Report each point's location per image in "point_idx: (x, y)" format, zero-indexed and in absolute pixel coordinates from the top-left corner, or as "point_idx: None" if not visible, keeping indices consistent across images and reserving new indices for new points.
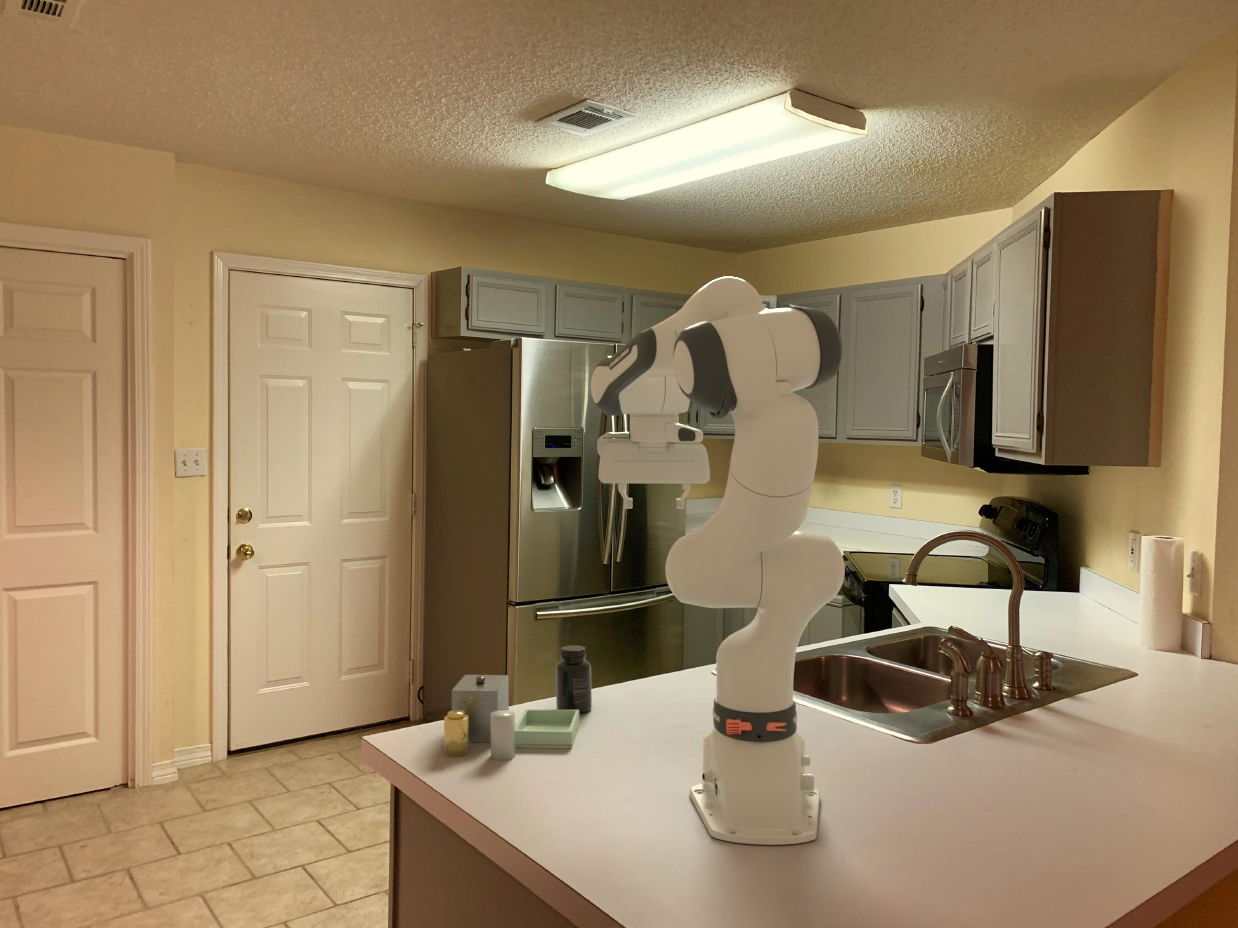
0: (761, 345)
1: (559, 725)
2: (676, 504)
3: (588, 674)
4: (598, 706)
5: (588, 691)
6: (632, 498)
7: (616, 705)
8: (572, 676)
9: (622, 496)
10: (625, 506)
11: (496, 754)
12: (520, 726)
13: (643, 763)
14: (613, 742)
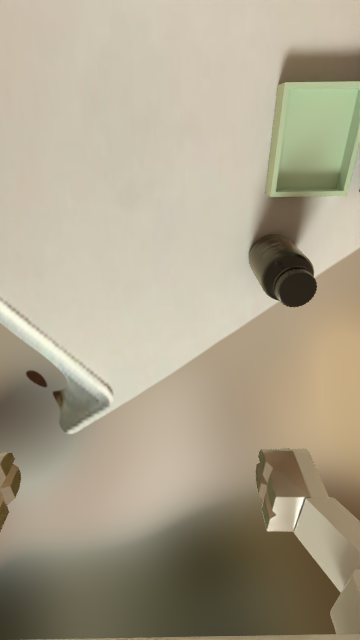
0: None
1: (293, 175)
2: (10, 490)
3: (263, 264)
4: (239, 269)
5: (258, 255)
6: (269, 521)
7: (217, 274)
8: (287, 250)
9: (347, 512)
10: (302, 452)
11: None
12: (357, 121)
13: (171, 13)
14: (218, 117)
